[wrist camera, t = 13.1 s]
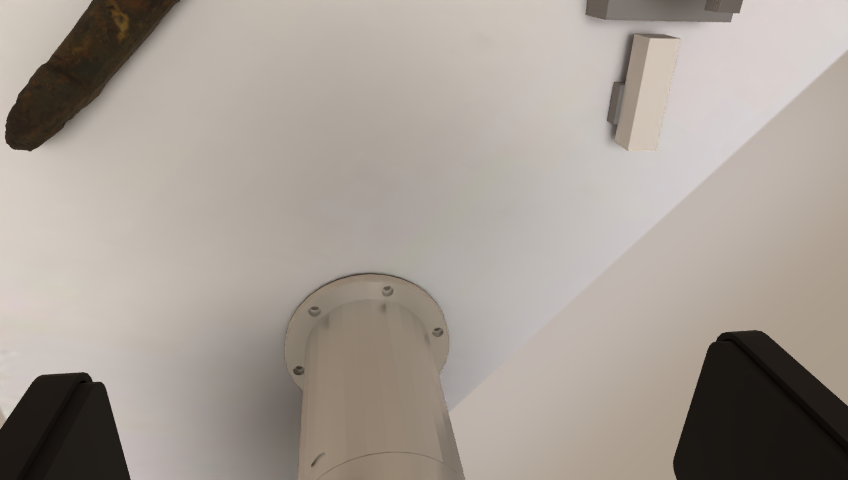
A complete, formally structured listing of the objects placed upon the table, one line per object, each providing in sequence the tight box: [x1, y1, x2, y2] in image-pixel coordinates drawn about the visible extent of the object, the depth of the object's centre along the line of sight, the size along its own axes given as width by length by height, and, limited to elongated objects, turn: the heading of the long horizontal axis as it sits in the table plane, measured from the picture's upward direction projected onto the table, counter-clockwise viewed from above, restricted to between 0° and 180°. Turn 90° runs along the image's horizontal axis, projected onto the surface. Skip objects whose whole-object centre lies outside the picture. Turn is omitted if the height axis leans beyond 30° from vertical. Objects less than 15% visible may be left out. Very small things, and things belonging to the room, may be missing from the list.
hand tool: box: [5, 0, 180, 151], centre depth 31 cm, size 19×4×5 cm, turn 132°
